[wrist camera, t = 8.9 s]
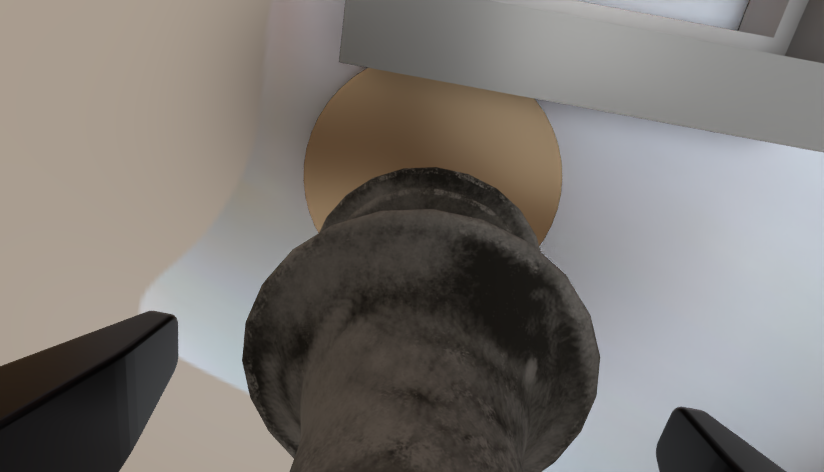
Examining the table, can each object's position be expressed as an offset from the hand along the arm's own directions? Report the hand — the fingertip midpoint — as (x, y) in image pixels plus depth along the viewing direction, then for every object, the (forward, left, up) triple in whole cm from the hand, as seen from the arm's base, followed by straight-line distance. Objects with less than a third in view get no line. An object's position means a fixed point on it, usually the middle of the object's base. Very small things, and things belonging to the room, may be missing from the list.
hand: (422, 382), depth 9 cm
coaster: (0, 0, -11) cm, 11 cm away
